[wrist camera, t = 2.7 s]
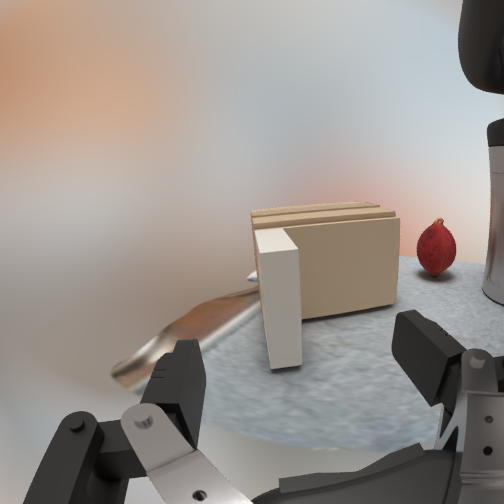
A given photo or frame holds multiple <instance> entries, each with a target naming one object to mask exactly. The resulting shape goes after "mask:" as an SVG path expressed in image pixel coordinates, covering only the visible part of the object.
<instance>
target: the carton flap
mask: <svg viewBox="0 0 504 504" xmlns="http://www.w3.org/2000/svg"><path fill="white" fill-rule="evenodd" d="M254 231H255V241H256V251H257V261H258V271H259V281H260V291H261V301H262V311H263V321H264V328H265V335H266V341H267V348H268V355H269V362H270V368H271V369H276V368H284V367H291V366H298V365H302V320H301V319H307V318H314V317H321V316H327V315H334V314H340V313H346V312H352V311H357V310H363V309H368V308H374V307H379V306H384V305H389V304H394V303H395V302H396V292H397V280H398V266H399V244H400V218H399V217H390V218H377V219H365V220H353V221H342V222H330V223H319V224H309V225H298V226H288V227H278V228H268V229H259V230H254Z"/></svg>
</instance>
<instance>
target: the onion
mask: <svg viewBox="0 0 504 504" xmlns="http://www.w3.org/2000/svg"><path fill="white" fill-rule="evenodd" d="M443 222H444V220H443V219H442V218H437V219H436V220H435V222H434V223H433V224H432V225H431V226H429V227H428V228H427V229H426V230H425V231H424V232H423V233H422V234H421V236H420V238H419V240H418V243H417V256H418V259H419V261H420V264H421V265H422V266H423V268H424V269H425V270H427V271H428V272H429V273H430V274H431V275H433V276H438V275H439V274H440V273H441V272H443V271H444V270H446V269H447V268H448V267H450V266H451V265H452V263H453V261H454V259H455V256H456V243H455V240H454V238H453V236H452V234H451V233H450V231H449V230H448V229H447V228H446V227H445V226H443Z"/></svg>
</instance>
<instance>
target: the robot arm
mask: <svg viewBox="0 0 504 504" xmlns="http://www.w3.org/2000/svg"><path fill="white" fill-rule="evenodd" d="M458 51H459V58H460V63H461V67H462V70H463V72H464V74H465V76H466V78H467V79H468V81H469V82H470V83H471V84H472V85H473V86H474V87H476V88H478V89H480V90H482V91H486V92H490V93H497V94H504V0H463V4H462V11H461V18H460V25H459V34H458ZM487 139H488V146H489V160H490V180H491V208H490V229H489V241H488V251H487V259H486V266H485V273H484V279H483V285H482V288H483V291H484V293H485V294H486V295H487V296H489V297H490V298H491V299H493V300H495V301H497V302H499V303H501V304H504V118H503V119H500V120H497V121H494V122H492V123H490V124H489V125H488V127H487ZM392 354H393V356H394V358H395V360H396V361H397V362H398V364H399V365H400V366H401V368H402V369H403V370H404V371H405V373H406V374H407V375H408V377H409V378H410V379H411V381H412V382H413V383H414V385H415V386H416V387H417V389H418V390H419V392H420V393H421V394H422V396H423V397H424V398H425V400H426V401H427V402H428V404H429V405H430V407H432V406H434V405H436V404H439V403H441V402H442V403H443V407H442V409H441V413H440V419H439V425H438V431H437V436H436V441H435V446H434V449H432V450H423V448H422V447H421V445H420V443H417V444H414V445H412V446H409V447H407V448H404V449H401V450H399V451H396V452H393V453H390V454H388V455H386V456H385V457H383V458H382V459H380V460H378V461H376V462H375V463H373V464H371V465H369V466H367V467H365V468H363V469H362V470H359V471H356V472H341V473H313V474H308V475H302V476H295V477H288V478H280V479H279V488H276V489H273V490H270V491H268V492H265V493H263V494H261V495H259V496H257V497H256V498H254V499H253V500H251V501H250V500H249V499H248V498H246V497H245V496H244V495H243V494H242V493H241V492H240V491H239V490H238V489H237V488H236V487H235V486H234V485H233V484H232V483H230V481H228V480H227V479H226V478H225V477H224V475H223V474H222V473H220V471H219V470H218V469H217V468H216V467H214V465H213V464H212V463H211V462H210V461H209V460H208V459H207V458H206V457H205V455H204V454H203V453H202V452H201V451H200V450H198V449H197V445H198V437H199V430H200V423H201V416H202V409H203V402H204V395H205V389H206V373H205V368H204V364H203V360H202V355H201V351H200V347H199V343H198V340H197V339H190V340H178V341H177V343H176V345H175V348H174V351H173V353H165V354H164V355H163V356H162V357H161V358H160V359H159V360H158V361H157V363H156V365H155V367H154V371H153V372H152V375H151V379H150V380H149V382H148V384H147V387H146V389H145V392H144V394H143V397H142V399H141V402H140V404H138V405H134V406H132V407H130V408H129V409H128V410H126V411H125V412H124V414H123V415H122V417H121V419H120V420H114V421H107V422H97V420H96V418H95V417H94V416H93V415H92V414H90V413H88V412H84V411H79V412H74V413H71V414H69V415H68V416H66V417H65V418H64V419H63V420H62V422H61V423H60V425H59V427H58V429H57V431H56V433H55V435H54V437H53V439H52V441H51V443H50V444H49V446H48V449H47V451H46V453H45V455H44V457H43V459H42V461H41V463H40V465H39V468H38V470H37V472H36V474H35V476H34V478H33V481H32V483H31V486H30V488H29V490H28V492H27V495H26V497H25V500H24V502H23V504H124V501H125V496H126V491H127V487H128V482H129V478H138V477H146V476H148V477H149V479H150V480H151V482H152V484H153V485H154V487H155V488H156V490H157V491H158V493H159V494H160V496H161V497H162V499H163V500H164V502H165V503H166V504H504V356H500V357H494V358H493V357H492V356H491V355H490V354H489V353H488V352H486V351H484V350H482V349H469V350H467V349H465V348H464V347H463V346H462V345H461V344H460V343H459V342H458V341H456V340H455V339H454V338H453V337H452V336H451V335H448V333H447V332H446V331H445V330H443V328H442V327H440V326H439V325H438V324H437V323H436V322H433V321H431V320H429V319H427V318H424V317H423V316H422V315H421V314H420V313H419V312H417V311H416V310H409V311H405V312H400V313H398V314H397V316H396V320H395V327H394V334H393V340H392Z"/></svg>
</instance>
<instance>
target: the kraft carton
mask: <svg viewBox="0 0 504 504" xmlns="http://www.w3.org/2000/svg"><path fill="white" fill-rule="evenodd" d="M250 212H251V222H252V231H253V240H254V251H255V261H256V270H257V280H258V289H259V296H260V302H261V309H262V301H261V291H260V281H259V271H258V261H257V251H256V241H255V231H254V230H259V229H268V228H278V227H288V226H298V225H309V224H319V223H330V222H342V221H353V220H365V219H377V218H390V217H395V211H392V210H388V209H385V208H381V207H380V205H376V204H372V203H362V202H358V201H354V202H340V203H326V204H313V205H302V206H290V207H279V208H269V209H259V210H251V211H250ZM262 316H263V311H262ZM263 323H264V321H263Z"/></svg>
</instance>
